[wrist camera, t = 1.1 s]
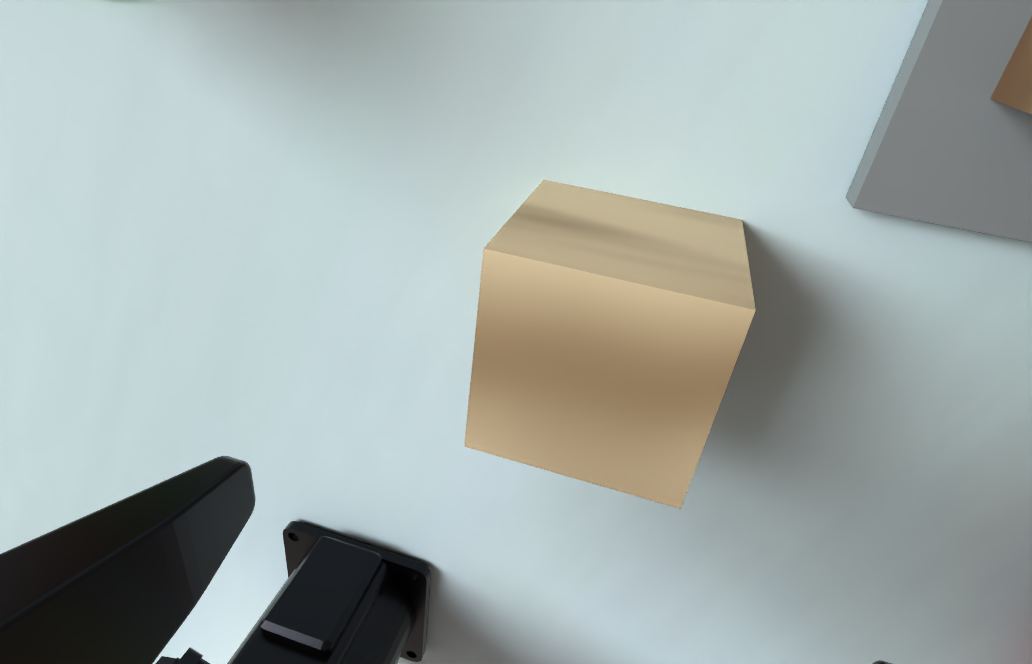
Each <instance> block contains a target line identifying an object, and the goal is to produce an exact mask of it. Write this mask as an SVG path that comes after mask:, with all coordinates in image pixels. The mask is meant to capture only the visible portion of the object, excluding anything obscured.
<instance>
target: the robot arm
mask: <svg viewBox="0 0 1032 664" xmlns="http://www.w3.org/2000/svg"><path fill="white" fill-rule="evenodd" d="M254 506H255V492H254V486H253V479H252V473H251V468H250V466H249V464H248V463H247V462H245V461H242V460H239V459H235V458H232V457H229V456H221V457H217V458H215V459H213V460H210V461H208V462H206V463H204V464H201V465H199V466H197V467H195V468H192V469H190V470H188V471H186V472H183V473H181V474H179V475H177V476H174V477H172V478H170V479H168V480H165V481H163V482H161V483H159V484H156V485H154V486H152V487H150V488H147V489H145V490H143V491H141V492H138V493H136V494H134V495H132V496H130V497H127V498H125V499H123V500H121V501H118V502H116V503H114V504H112V505H109V506H107V507H105V508H103V509H100V510H98V511H96V512H94V513H91V514H89V515H87V516H85V517H82V518H80V519H78V520H76V521H73V522H71V523H69V524H67V525H64V526H62V527H60V528H58V529H55V530H53V531H51V532H49V533H47V534H44V535H42V536H40V537H38V538H35V539H33V540H31V541H29V542H26V543H24V544H22V545H20V546H17V547H15V548H13V549H11V550H8V551H6V552H4V553H2V554H0V664H152V663H153V662H154V661H155V659H156V658H157V657H158V655H159V654H160V653H161V651H162V650H163V649H164V647H165V646H166V645H167V643H168V642H169V641H170V639H171V638H172V637H173V635H174V634H175V633H176V631H177V630H178V629H179V627H180V626H181V625H182V623H183V622H184V621H185V619H186V618H187V616H188V615H189V614H190V612H191V611H192V609H193V608H194V607H195V605H196V604H197V602H198V601H199V599H200V598H201V596H202V594H203V593H204V591H205V590H206V588H207V586H208V585H209V583H210V582H211V580H212V578H213V577H214V575H215V573H216V572H217V570H218V568H219V567H220V565H221V564H222V562H223V560H224V559H225V557H226V555H227V554H228V552H229V550H230V549H231V547H232V546H233V544H234V542H235V541H236V539H237V537H238V536H239V534H240V532H241V531H242V529H243V528H244V526H245V524H246V523H247V521H248V519H249V518H250V516H251V514H252V512H253V509H254ZM283 539H284V546H285V554H286V562H287V570H288V577H289V578H288V579H287V581H286V582H285V584H284V585H283V586H282V588H281V589H280V591H279V592H278V593H277V595H276V596H275V598H274V599H273V600H272V602H271V603H270V605H269V606H268V607H267V609H266V610H265V612H264V613H263V614H262V616H261V617H260V619H259V620H258V621H257V623H256V624H255V626H254V627H253V628H252V630H251V631H250V633H249V634H248V635H247V637H246V638H245V640H244V641H243V642H242V644H241V645H240V647H239V648H238V649H237V651H236V652H235V654H234V655H233V656H232V658H231V659H230V661H229V662H228V663H227V664H397V662H398V660H399V657H402V658H405V659H408V660H411V661H414V662H419V661H421V659H422V657H423V655H424V652H425V649H426V635H427V620H428V605H429V591H430V576H431V573H430V569H429V568H428V567H427V566H426V565H425V564H423V563H421V562H419V561H416V560H413V559H410V558H407V557H404V556H401V555H398V554H395V553H392V552H389V551H385V550H382V549H379V548H376V547H373V546H370V545H367V544H364V543H361V542H358V541H355V540H352V539H349V538H346V537H343V536H340V535H337V534H334V533H331V532H328V531H325V530H322V529H318V528H315V527H312V526H309V525H306V524H303V523H300V522H296V521H292V522H290V523H289V524H288V525H287V527H286V528H285V529H284V530H283ZM202 657H203V655H201V654H200V653H198V652H197V651H195V650H194V649H192V648H189V649H188V650H187V651H186V653H185V654H184V655H183V656H182V658H181V659H179V658H177V659H176V658H170V657H164V656H162V657H161V658H160V659H159V660H158V662H157V663H156V664H210V663H208V662H207V661H205V660H203V659H202ZM873 664H891V663H888V662H885V661H880V660H879V661H876V662H874V663H873Z"/></svg>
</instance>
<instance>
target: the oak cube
mask: <svg viewBox="0 0 1032 664" xmlns="http://www.w3.org/2000/svg"><path fill="white" fill-rule="evenodd" d="M755 311H756V309H755V302H754V296H753V289H752V282H751V276H750V269H749V262H748V256H747V249H746V242H745V235H744V229H743V222H742V220H740V219H735V218H730V217H726V216H721V215H716V214H711V213H706V212H701V211H696V210H691V209H686V208H681V207H676V206H671V205H666V204H661V203H656V202H651V201H646V200H641V199H637V198H632V197H627V196H622V195H617V194H612V193H607V192H602V191H597V190H592V189H587V188H582V187H577V186H572V185H567V184H562V183H557V182H552V181H548V180H543V181H542V182H541V184H540V185H539V186H538V187H537V188H536V189H535V190H534V192H533V193H532V194H531V195H530V196H529V197H528V198H527V200H526V201H525V202H524V203H523V204H522V205H521V206H520V208H519V209H518V210H517V211H516V212H515V213H514V214H513V216H512V217H511V218H510V219H509V220H508V221H507V222H506V224H505V225H504V226H503V227H502V228H501V229H500V230H499V232H498V233H497V234H496V235H495V236H494V237H493V238H492V240H491V241H490V242H489V243H488V244H487V245H486V246H485V248H484V251H483V261H482V271H481V282H480V292H479V302H478V312H477V323H476V333H475V343H474V353H473V364H472V374H471V384H470V394H469V405H468V415H467V425H466V435H465V447H468V448H472V449H475V450H479V451H482V452H486V453H489V454H493V455H496V456H499V457H503V458H506V459H510V460H513V461H517V462H520V463H524V464H527V465H531V466H534V467H538V468H541V469H544V470H548V471H551V472H555V473H558V474H562V475H565V476H569V477H572V478H576V479H579V480H582V481H586V482H589V483H593V484H596V485H600V486H603V487H607V488H610V489H614V490H617V491H621V492H624V493H627V494H631V495H634V496H638V497H641V498H645V499H648V500H652V501H655V502H659V503H662V504H666V505H669V506H672V507H676V508H679V509H681V506H682V504H683V501H684V498H685V496H686V493H687V490H688V488H689V485H690V482H691V480H692V477H693V475H694V472H695V469H696V467H697V464H698V461H699V459H700V456H701V453H702V451H703V448H704V445H705V443H706V440H707V438H708V435H709V432H710V430H711V427H712V424H713V422H714V419H715V416H716V414H717V411H718V408H719V406H720V403H721V401H722V398H723V395H724V393H725V390H726V387H727V385H728V382H729V379H730V377H731V374H732V372H733V369H734V366H735V364H736V361H737V358H738V356H739V353H740V350H741V348H742V345H743V342H744V340H745V337H746V335H747V332H748V329H749V327H750V324H751V321H752V319H753V316H754V313H755Z"/></svg>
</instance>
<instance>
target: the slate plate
mask: <svg viewBox="0 0 1032 664" xmlns="http://www.w3.org/2000/svg"><path fill="white" fill-rule="evenodd" d="M1031 17H1032V0H929V1H928V3H927V6H926V8H925V11H924V13H923V15H922V18H921V20H920V22H919V25H918V27H917V29H916V32H915V34H914V37H913V39H912V41H911V44H910V46H909V48H908V51H907V53H906V56H905V58H904V60H903V63H902V65H901V67H900V70H899V72H898V75H897V77H896V79H895V82H894V84H893V86H892V89H891V91H890V94H889V96H888V98H887V101H886V103H885V105H884V108H883V110H882V112H881V115H880V117H879V120H878V122H877V124H876V127H875V129H874V131H873V134H872V136H871V139H870V141H869V143H868V146H867V148H866V150H865V153H864V155H863V158H862V160H861V162H860V165H859V167H858V169H857V172H856V174H855V177H854V179H853V181H852V184H851V186H850V188H849V191H848V193H847V195H846V198H847V200H848V201H849V203H850V204H851V206H852V207H853V208H856V209H861V210H866V211H871V212H877V213H882V214H887V215H892V216H897V217H902V218H908V219H913V220H918V221H923V222H928V223H934V224H939V225H944V226H949V227H954V228H959V229H965V230H970V231H975V232H980V233H985V234H991V235H996V236H1001V237H1006V238H1011V239H1017V240H1022V241H1027V242H1032V114H1029V113H1026V112H1024V111H1021V110H1018V109H1016V108H1013V107H1011V106H1008V105H1005V104H1003V103H1000V102H997V101H995V100H992V99H990V98H991V96H992V94H993V92H994V90H995V88H996V86H997V84H998V82H999V80H1000V78H1001V76H1002V74H1003V72H1004V70H1005V68H1006V66H1007V64H1008V62H1009V60H1010V58H1011V56H1012V54H1013V52H1014V50H1015V48H1016V46H1017V44H1018V42H1019V40H1020V39H1021V37H1022V35H1023V33H1024V31H1025V29H1026V27H1027V25H1028V23H1029V21H1030V19H1031Z"/></svg>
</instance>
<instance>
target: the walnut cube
mask: <svg viewBox="0 0 1032 664" xmlns="http://www.w3.org/2000/svg"><path fill="white" fill-rule="evenodd" d="M990 99H992V100H995V101H997V102H1000V103H1003V104H1005V105H1008V106H1011V107H1013V108H1016V109H1018V110H1021V111H1024V112H1026V113H1029V114H1032V17H1031V19H1030V21H1029V23H1028V25H1027V27H1026V29H1025V31H1024V33H1023V35H1022V37H1021V39H1020V40H1019V42H1018V44H1017V46H1016V48H1015V50H1014V52H1013V54H1012V56H1011V58H1010V60H1009V62H1008V64H1007V66H1006V68H1005V70H1004V72H1003V74H1002V76H1001V78H1000V80H999V82H998V84H997V86H996V88H995V90H994V92H993V94H992V96H991V98H990Z"/></svg>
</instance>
